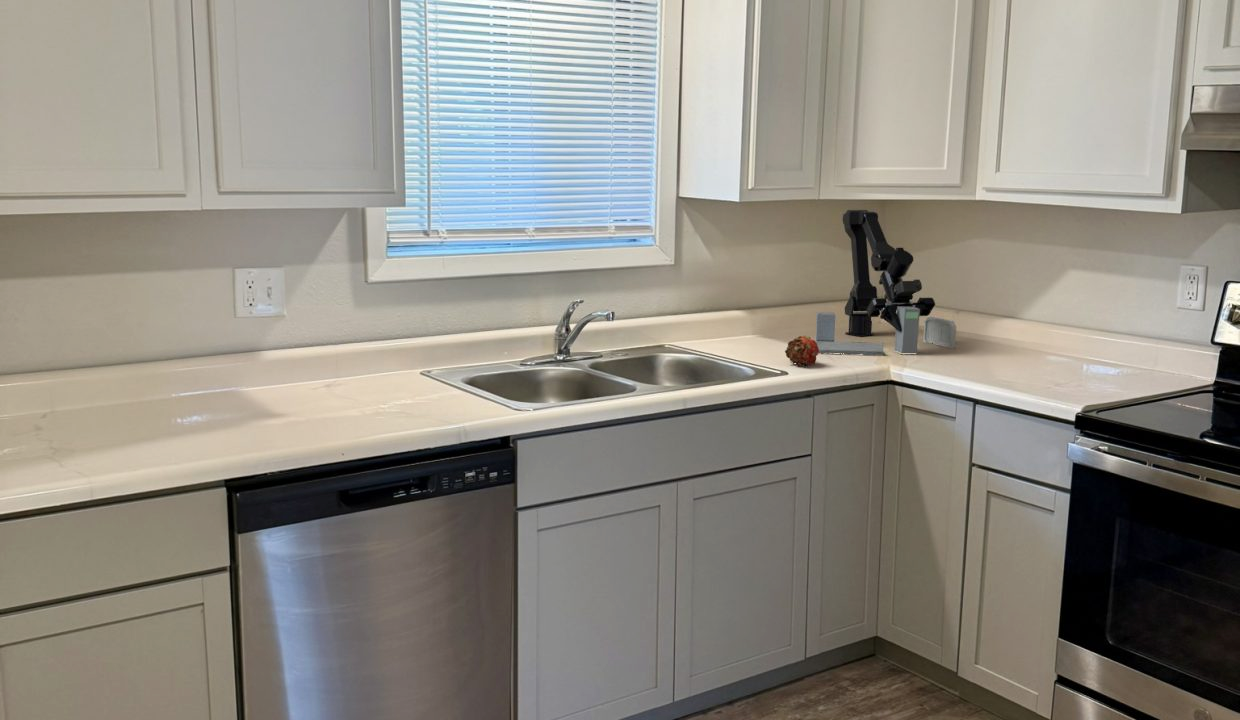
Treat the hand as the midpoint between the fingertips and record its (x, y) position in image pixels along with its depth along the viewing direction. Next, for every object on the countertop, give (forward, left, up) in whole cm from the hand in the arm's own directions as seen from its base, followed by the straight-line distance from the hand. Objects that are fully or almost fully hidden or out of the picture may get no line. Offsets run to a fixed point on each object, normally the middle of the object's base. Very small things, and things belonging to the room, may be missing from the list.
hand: (908, 330), depth 310 cm
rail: (-11, -12, -7) cm, 18 cm away
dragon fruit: (-7, -36, -7) cm, 38 cm away
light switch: (-5, +21, -7) cm, 22 cm away
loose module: (-1, +1, -7) cm, 7 cm away
